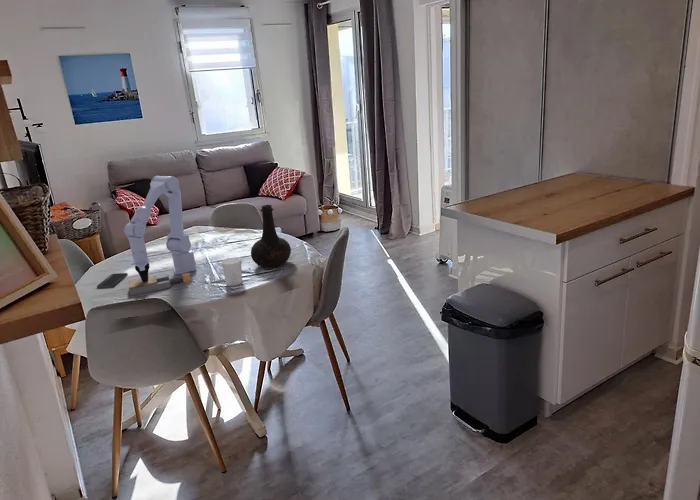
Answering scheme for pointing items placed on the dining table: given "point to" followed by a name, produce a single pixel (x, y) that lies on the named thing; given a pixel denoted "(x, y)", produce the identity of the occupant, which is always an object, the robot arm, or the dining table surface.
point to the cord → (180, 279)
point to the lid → (140, 283)
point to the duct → (152, 286)
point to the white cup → (232, 271)
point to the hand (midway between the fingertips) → (145, 281)
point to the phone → (112, 280)
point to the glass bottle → (270, 244)
